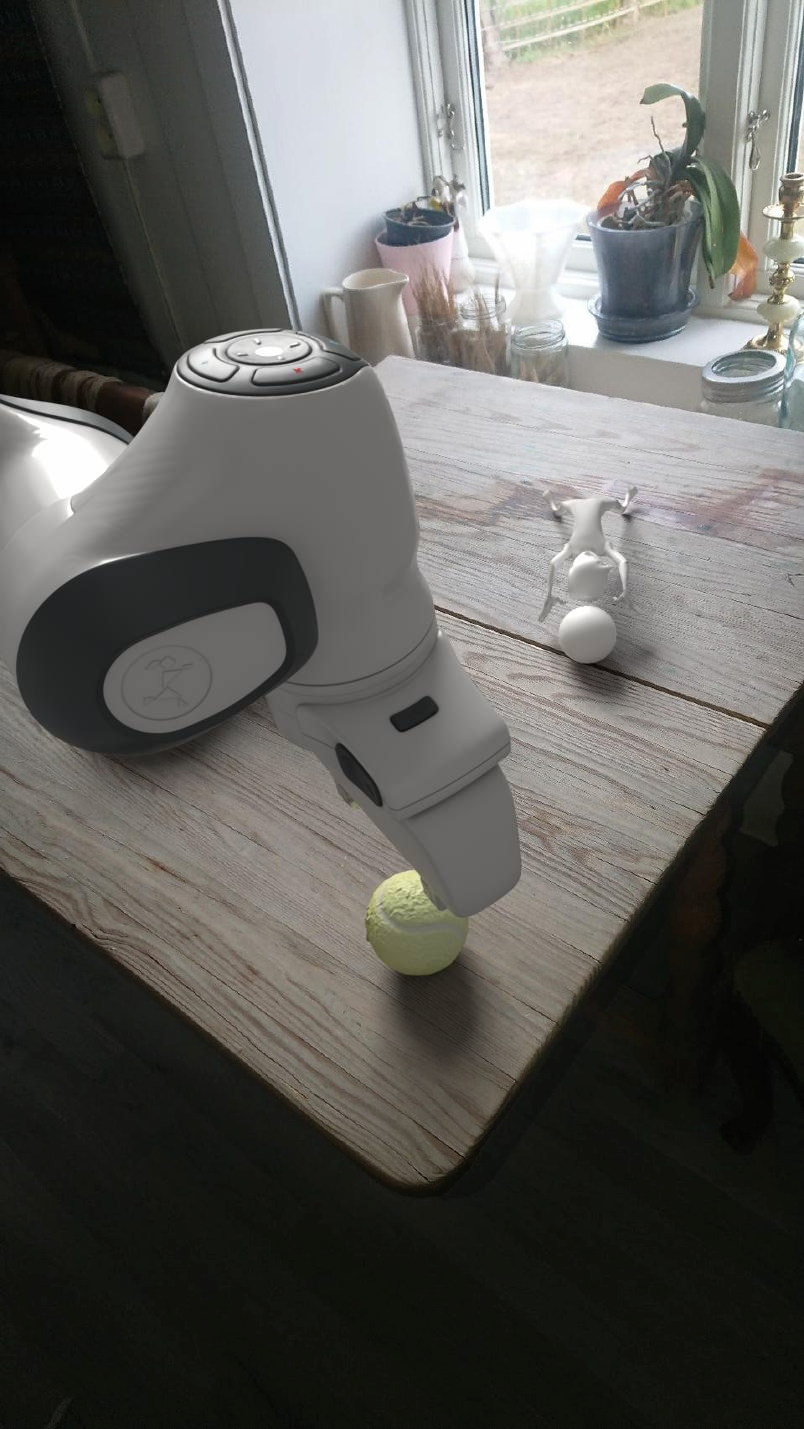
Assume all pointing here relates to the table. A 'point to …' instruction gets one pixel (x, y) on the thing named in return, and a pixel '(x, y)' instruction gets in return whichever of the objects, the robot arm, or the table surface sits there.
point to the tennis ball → (412, 927)
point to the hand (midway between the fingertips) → (399, 844)
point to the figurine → (587, 578)
